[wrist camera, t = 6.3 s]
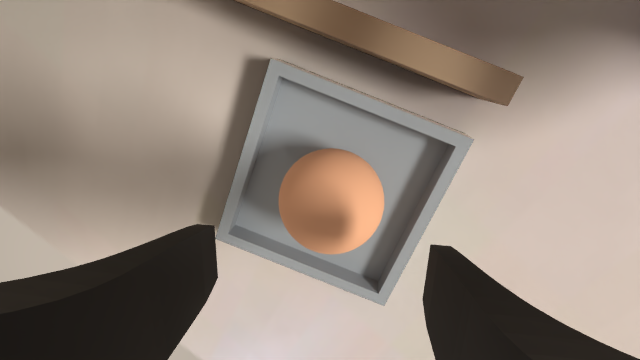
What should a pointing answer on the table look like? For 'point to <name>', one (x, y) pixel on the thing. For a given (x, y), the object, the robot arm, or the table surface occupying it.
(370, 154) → the dish
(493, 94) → the rail
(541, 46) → the table surface
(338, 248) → the ball
